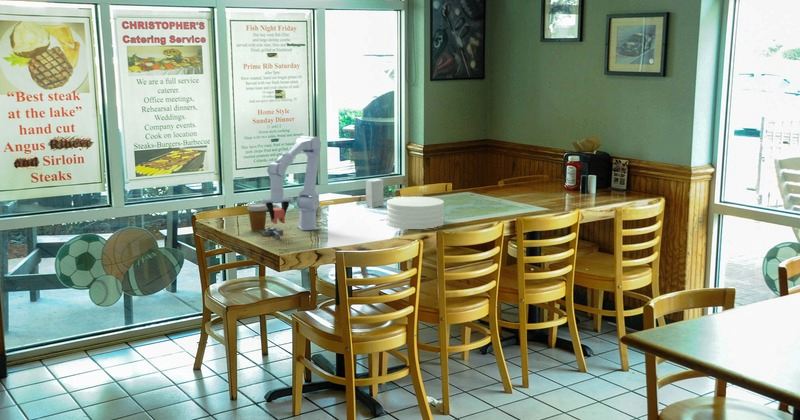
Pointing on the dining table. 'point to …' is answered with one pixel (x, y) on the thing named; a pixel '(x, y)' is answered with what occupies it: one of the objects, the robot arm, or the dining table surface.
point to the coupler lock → (278, 215)
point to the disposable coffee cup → (257, 216)
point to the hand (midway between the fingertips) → (277, 218)
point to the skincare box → (374, 193)
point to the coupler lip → (272, 232)
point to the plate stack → (415, 212)
